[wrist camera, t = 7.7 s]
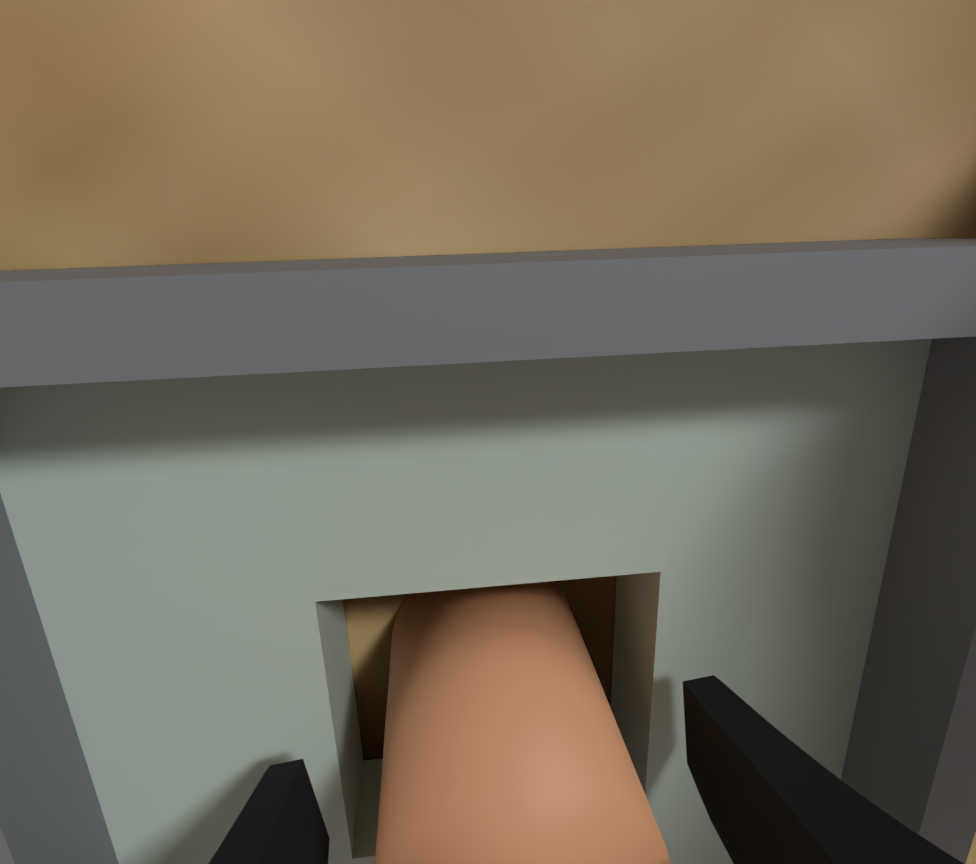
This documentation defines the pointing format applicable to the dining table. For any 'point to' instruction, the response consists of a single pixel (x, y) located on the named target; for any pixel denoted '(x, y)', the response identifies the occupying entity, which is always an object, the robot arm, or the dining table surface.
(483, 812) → the peg
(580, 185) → the dining table surface
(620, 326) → the box
